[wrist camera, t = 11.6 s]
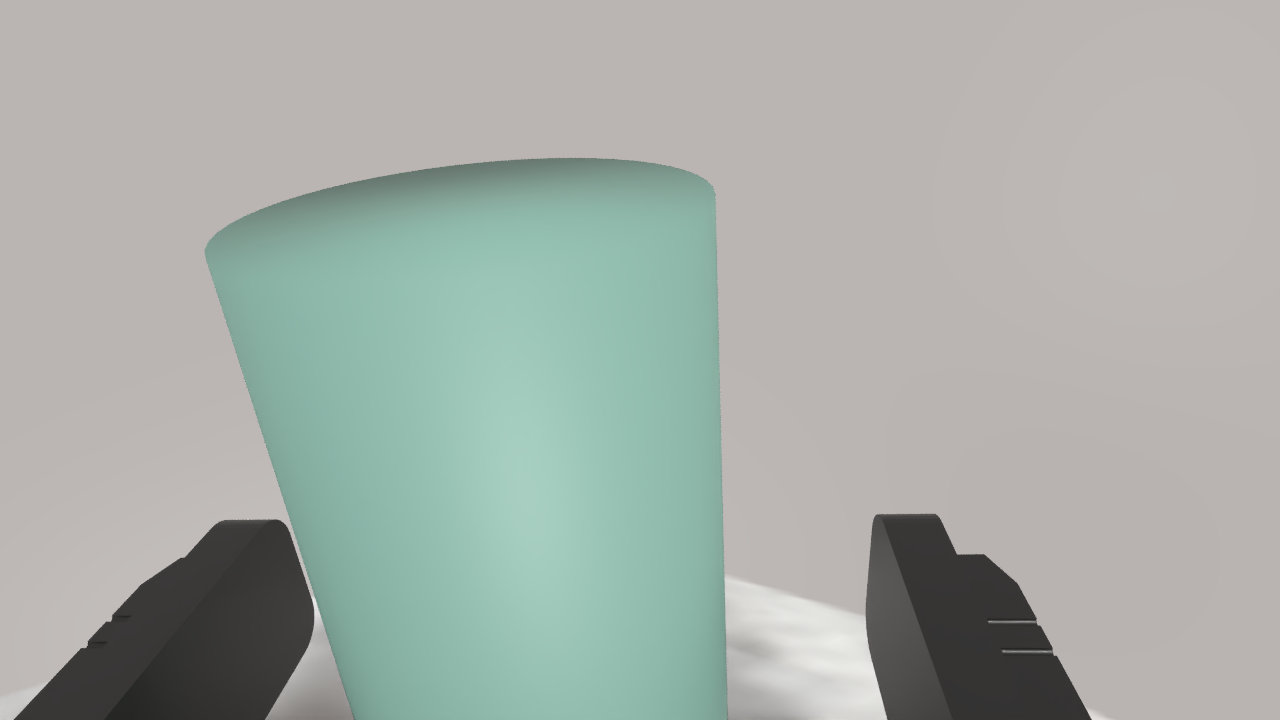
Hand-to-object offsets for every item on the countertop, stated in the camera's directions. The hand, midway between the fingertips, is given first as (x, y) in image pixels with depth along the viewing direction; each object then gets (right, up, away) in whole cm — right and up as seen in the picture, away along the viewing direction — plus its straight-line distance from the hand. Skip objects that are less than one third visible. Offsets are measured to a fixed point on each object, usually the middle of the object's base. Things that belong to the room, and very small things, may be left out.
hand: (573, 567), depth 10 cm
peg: (+1, -10, +3) cm, 11 cm away
